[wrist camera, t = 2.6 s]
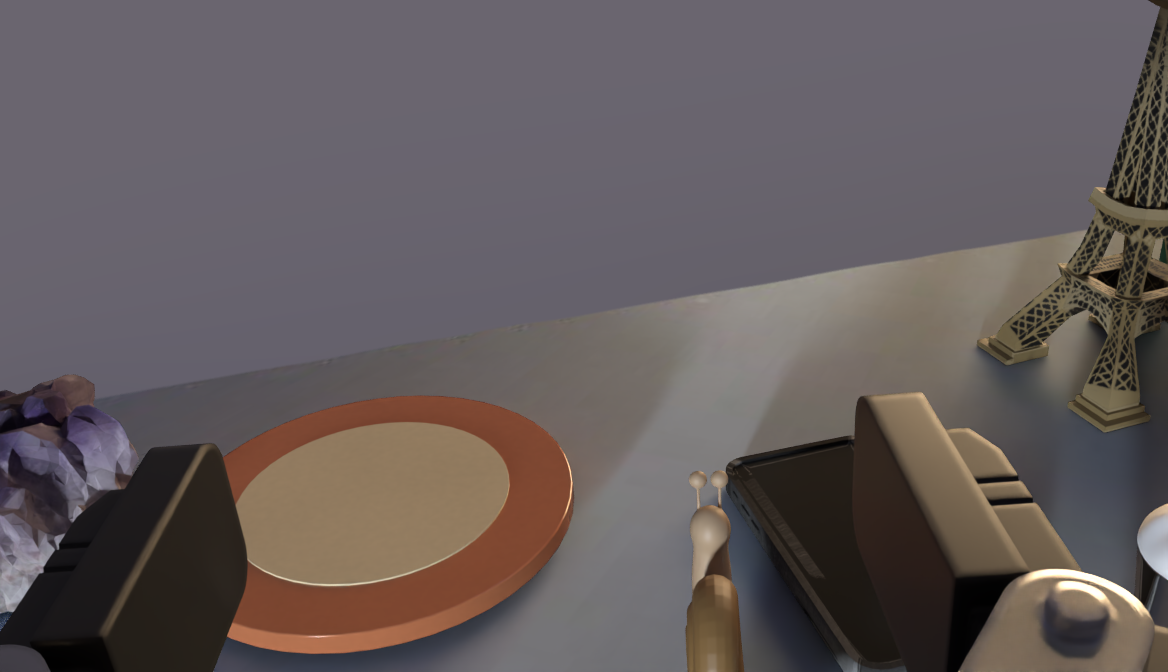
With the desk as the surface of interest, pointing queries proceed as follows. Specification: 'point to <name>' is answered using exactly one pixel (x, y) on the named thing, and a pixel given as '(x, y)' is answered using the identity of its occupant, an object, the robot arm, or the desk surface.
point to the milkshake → (1153, 565)
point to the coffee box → (1163, 254)
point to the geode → (52, 473)
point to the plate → (392, 520)
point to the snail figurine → (712, 589)
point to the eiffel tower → (1113, 260)
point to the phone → (817, 545)
